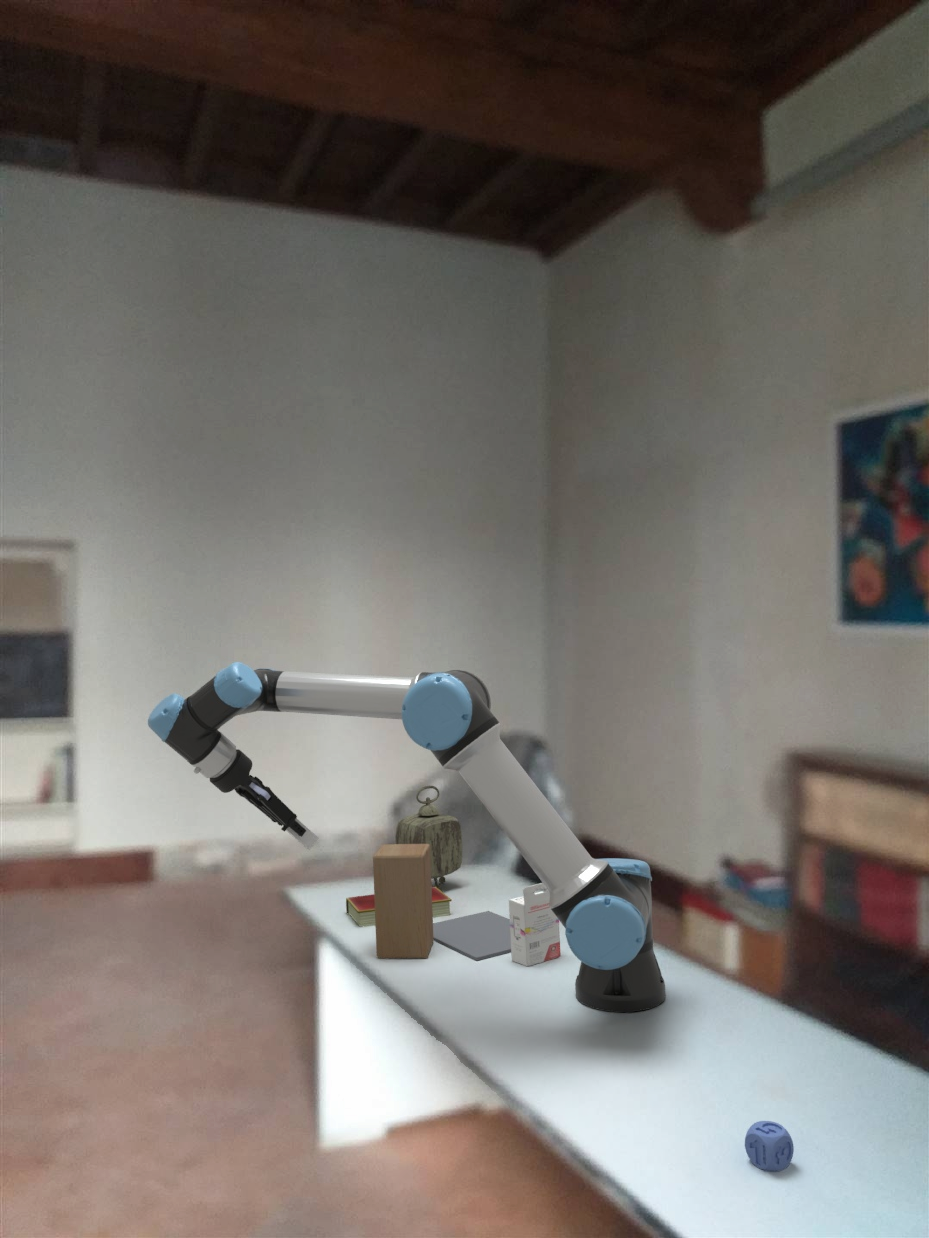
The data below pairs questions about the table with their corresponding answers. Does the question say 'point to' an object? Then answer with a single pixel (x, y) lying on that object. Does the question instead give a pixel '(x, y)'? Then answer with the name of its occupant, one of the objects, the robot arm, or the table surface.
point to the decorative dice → (769, 1146)
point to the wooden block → (403, 901)
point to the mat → (475, 935)
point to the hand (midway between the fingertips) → (312, 843)
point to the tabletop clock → (433, 837)
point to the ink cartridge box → (533, 927)
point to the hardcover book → (365, 907)
